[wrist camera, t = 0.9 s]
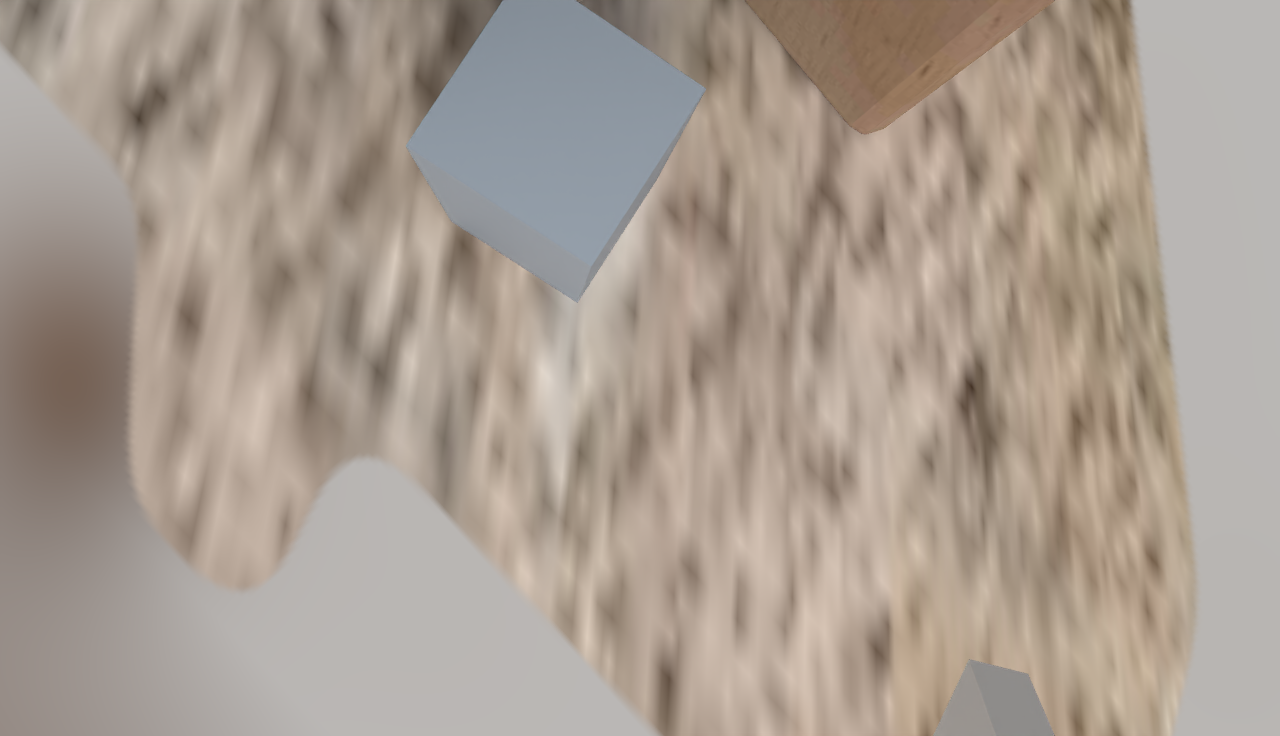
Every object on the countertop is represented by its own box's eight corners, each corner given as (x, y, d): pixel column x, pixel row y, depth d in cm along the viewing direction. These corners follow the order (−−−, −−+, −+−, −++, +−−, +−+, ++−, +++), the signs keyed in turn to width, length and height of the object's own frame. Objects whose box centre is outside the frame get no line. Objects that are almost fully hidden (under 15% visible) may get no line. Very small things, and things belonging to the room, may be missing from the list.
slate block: (451, 221, 37) (405, 145, 25) (532, 98, 37) (525, -34, 26) (577, 302, 38) (591, 266, 26) (656, 180, 38) (706, 88, 26)
